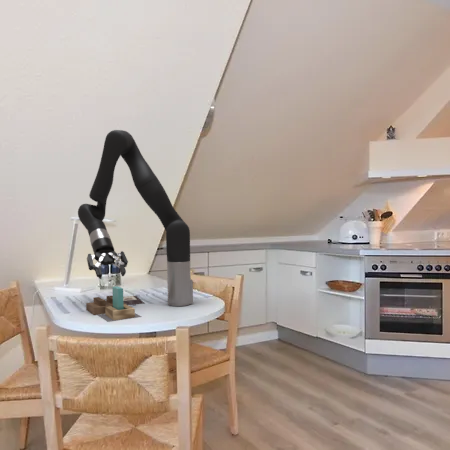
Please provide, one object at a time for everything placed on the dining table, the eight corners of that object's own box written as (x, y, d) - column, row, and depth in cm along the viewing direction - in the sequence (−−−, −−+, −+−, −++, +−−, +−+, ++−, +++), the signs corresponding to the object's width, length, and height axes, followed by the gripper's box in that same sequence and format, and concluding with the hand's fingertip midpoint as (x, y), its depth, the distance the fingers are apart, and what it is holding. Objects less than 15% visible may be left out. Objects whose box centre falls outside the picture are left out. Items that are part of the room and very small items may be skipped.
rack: (125, 312, 158) (125, 304, 158) (134, 317, 151) (134, 308, 151) (105, 315, 154) (105, 306, 154) (114, 320, 147) (113, 311, 147)
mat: (129, 311, 161) (129, 310, 161) (142, 317, 151) (142, 316, 151) (97, 316, 155) (97, 315, 155) (108, 323, 145) (108, 321, 145)
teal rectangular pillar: (117, 313, 156) (117, 286, 156) (123, 317, 151) (123, 288, 151) (113, 314, 155) (112, 286, 155) (118, 317, 150) (118, 289, 150)
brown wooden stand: (117, 307, 170) (117, 294, 170) (126, 311, 161) (126, 298, 161) (86, 311, 163) (85, 297, 163) (94, 316, 155) (93, 302, 155)
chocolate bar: (122, 305, 170) (114, 297, 187) (122, 307, 170) (114, 299, 187) (145, 303, 174) (135, 295, 190) (145, 305, 174) (135, 297, 190)
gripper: (84, 237, 161) (94, 271, 152) (121, 235, 169) (133, 267, 160) (81, 250, 166) (90, 284, 157) (117, 248, 174) (128, 280, 165)
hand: (112, 275), depth 158 cm, fingers open, 8 cm apart
